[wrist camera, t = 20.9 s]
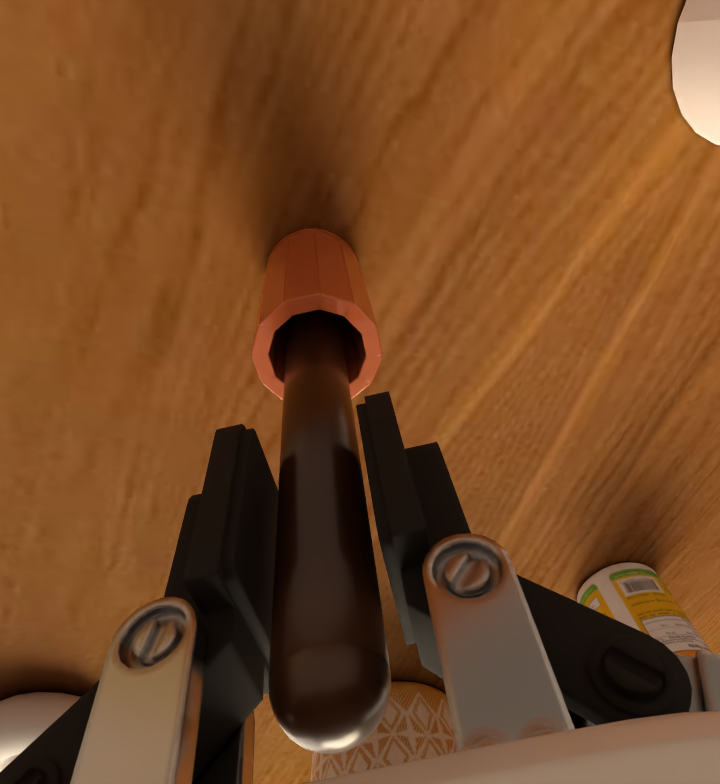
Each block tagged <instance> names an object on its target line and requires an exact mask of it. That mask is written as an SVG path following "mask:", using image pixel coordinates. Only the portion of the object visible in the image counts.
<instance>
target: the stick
mask: <svg viewBox="0 0 720 784" xmlns="http://www.w3.org/2000/svg"><path fill="white" fill-rule="evenodd" d="M268 684H269V699H270V703H271V707H272V710H273V713H274V716H275V718H276V720H277V722H278V724H279V726H280V727H281V728H282V730H283V731H284V732H285V733H286V734H287V736H288V737H289V738H290V739H291V740H292V741H294V742H295V743H297V744H298V745H300V746H301V747H303V748H304V749H307V750H309V751H313V752H317V753H322V754H336V753H341V752H345V751H347V750H350V749H352V748H354V747H356V746H358V745H360V744H361V743H362V742H364V741H365V740H366V739H367V738H368V737H369V736H370V735H371V734H372V733H373V732H374V731H375V730H376V728H377V727H378V725H379V724H380V722H381V720H382V719H383V717H384V715H385V712H386V709H387V707H388V703H389V699H390V693H391V670H390V663H389V656H388V649H387V642H386V635H385V628H384V621H383V615H382V608H381V601H380V594H379V587H378V580H377V573H376V566H375V560H374V553H373V546H372V539H371V532H370V525H369V518H368V511H367V504H366V498H365V491H364V484H363V477H362V470H361V463H360V456H359V449H358V443H357V436H356V429H355V422H354V415H353V408H352V401H351V394H350V388H349V381H348V374H347V367H346V360H345V353H344V346H343V339H342V333H341V326H340V319H339V315H338V314H334V313H331V312H327V311H323V310H320V309H319V310H314V311H310V312H305V313H301V314H296V315H293V316H292V317H291V318H289V319H288V321H287V340H286V359H285V378H284V397H283V416H282V435H281V454H280V473H279V492H278V511H277V530H276V549H275V568H274V587H273V606H272V625H271V644H270V663H269V682H268Z"/></svg>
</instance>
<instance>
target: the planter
mask: <svg viewBox="0 0 720 784" xmlns="http://www.w3.org/2000/svg"><path fill="white" fill-rule="evenodd" d="M455 752H458V751H457V746H456V741H455V736H454V731H453V726H452V721H451V716H450V711H449V706H448V700H447V695H445V694H444V693H443V692H441V691H439V690H438V689H435V688H433V687H431V686H428V685H425V684H421V683H415V682H405V681H394V682H391V693H390V699H389V703H388V707H387V709H386V712H385V715H384V717H383V719H382V720H381V722H380V724H379V725H378V727H377V728H376V730H375V731H374V732H373V733H372V734H371V735H370V736H369V737H368V738H367V739H366V740H365V741H364V742H362V743H361V744H360V745H358V746H356V747H354V748H352V749H350V750H347V751H345V752H341V753H336V754H322V753H317V752H313V753H312V769H311V782H312V781H317V780H322V779H327V778H331V777H336V776H341V775H346V774H351V773H356V772H361V771H365V770H370V769H375V768H380V767H385V766H390V765H395V764H400V763H405V762H410V761H415V760H420V759H425V758H430V757H435V756H440V755H445V754H450V753H455Z"/></svg>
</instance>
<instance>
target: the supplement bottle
mask: <svg viewBox="0 0 720 784" xmlns="http://www.w3.org/2000/svg"><path fill="white" fill-rule="evenodd" d="M577 602H578V603H580V604H582V605H584V606H586V607H589V608H591V609H593V610H595V611H597V612H600V613H602V614H604V615H606V616H608V617H611V618H613V619H615V620H617V621H619V622H622V623H624V624H626V625H628V626H630V627H633V628H635V629H637V630H639V631H641V632H644V633H646V634H648V635H650V636H651V637H653V638H655V639H656V640H658V641H660V642H661V643H663V644H664V645H666V646H667V647H668V648H669V649H670V650H671V651H672V652H673V653H678V654H684V655H689V656H695V652H696V650H699V651H705V652H711V651H710V649H709V648H708V646H707V645H706V644H705V642H704V641H703V639H702V638H701V636H700V635H699V634H698V632H697V631H696V629H695V628H694V626H693V625H692V623H691V622H690V621H689V619H688V618H687V616H686V615H685V613H684V612H683V611H682V609H681V608H680V606H679V605H678V603H677V602H676V601H675V599H674V598H673V596H672V595H671V593H670V592H669V590H668V589H667V587H666V586H665V585H664V583H663V582H662V580H661V579H660V578H659V576H658V575H657V574H656V572H655V571H654V570H653V569H652V568H650V567H648V566H646V565H644V564H639V563H620V564H615V565H611V566H608V567H606V568H604V569H602V570H600V571H598V572H597V573H595V574H594V575H592V576H591V577H590V578H589V579H588V580H587V581H586V582H585V583H584V584H583V585H582V587H581V588H580V590H579V592H578V595H577ZM711 653H712V652H711Z"/></svg>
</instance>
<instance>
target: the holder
mask: <svg viewBox="0 0 720 784" xmlns="http://www.w3.org/2000/svg"><path fill="white" fill-rule="evenodd" d="M319 309H320V310H323V311H327V312H331V313H334V314H338V315H339V319H340V326H341V333H342V339H343V346H344V353H345V360H346V367H347V374H348V381H349V388H350V394H351V399H353V398H354V397H355V396H356V395H358V394H359V393H360V392H361V391H363V390H364V389H365V388H366V387H368V386H369V385H370V384H371V383H372V381H373V379H374V376H375V374H376V371H377V369H378V366H379V364H380V361H381V359H382V349H381V344H380V339H379V334H378V329H377V325H376V321H375V318H374V314H373V311H372V307H371V304H370V300H369V297H368V293H367V290H366V286H365V283H364V279H363V276H362V272H361V269H360V265H359V262H358V260H357V258H356V256H355V254H354V252H353V250H352V249H351V247H350V246H349V245H348V244H347V243H346V242H345V241H344V240H343V239H342V238H340V237H339V236H337V235H336V234H334V233H332V232H329V231H326V230H322V229H315V228H311V229H302V230H298V231H295V232H293V233H291V234H289V235H287V236H285V237H284V238H283V239H282V240H280V241H279V242H278V243H277V244H276V246H275V247H274V248H273V250H272V251H271V253H270V255H269V258H268V261H267V266H266V271H265V275H264V279H263V284H262V290H261V296H260V302H259V308H258V314H257V321H256V327H255V333H254V339H253V345H252V351H251V353H252V354H251V356H252V358H253V361H254V364H255V367H256V370H257V373H258V375H259V378H260V381H261V382H262V384H264V385H265V386H266V387H267V388H268V389H270V390H271V391H272V392H273V393H274V394H276V395H277V396H278V397H279V398H280V399H282V400H283V397H284V378H285V359H286V340H287V321H288V319H289V318H291V317H292V316H293V315H296V314H301V313H305V312H310V311H314V310H319Z"/></svg>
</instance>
